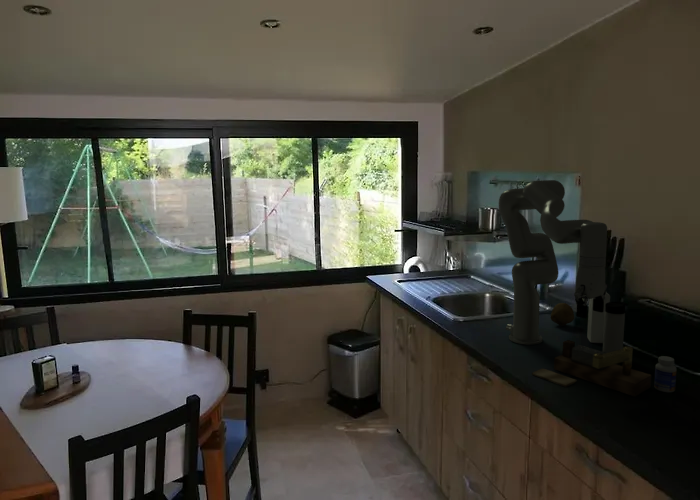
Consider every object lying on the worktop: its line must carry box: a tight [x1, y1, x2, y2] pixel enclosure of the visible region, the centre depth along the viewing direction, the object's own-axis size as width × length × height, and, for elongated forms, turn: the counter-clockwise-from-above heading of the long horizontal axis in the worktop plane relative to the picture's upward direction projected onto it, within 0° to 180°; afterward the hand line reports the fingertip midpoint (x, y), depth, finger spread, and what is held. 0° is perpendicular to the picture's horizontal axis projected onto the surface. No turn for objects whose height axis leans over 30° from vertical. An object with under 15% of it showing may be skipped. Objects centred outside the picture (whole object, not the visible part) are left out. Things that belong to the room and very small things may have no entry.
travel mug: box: [602, 301, 628, 353], centre depth 172 cm, size 6×7×20 cm
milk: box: [586, 291, 611, 344], centre depth 188 cm, size 6×6×22 cm
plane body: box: [553, 339, 653, 398], centre depth 156 cm, size 26×10×9 cm, turn 35°
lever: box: [593, 345, 634, 375], centre depth 146 cm, size 15×2×9 cm, turn 115°
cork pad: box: [531, 368, 577, 388], centre depth 158 cm, size 12×6×1 cm, turn 35°
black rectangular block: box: [571, 344, 609, 371], centre depth 158 cm, size 10×4×4 cm, turn 35°
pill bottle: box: [653, 355, 678, 393], centre depth 147 cm, size 5×5×10 cm
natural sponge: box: [550, 302, 575, 327], centre depth 207 cm, size 9×9×10 cm
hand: (590, 314), depth 156 cm, fingers open, 9 cm apart
